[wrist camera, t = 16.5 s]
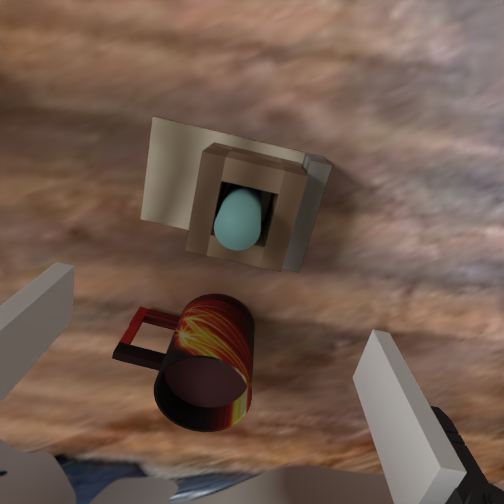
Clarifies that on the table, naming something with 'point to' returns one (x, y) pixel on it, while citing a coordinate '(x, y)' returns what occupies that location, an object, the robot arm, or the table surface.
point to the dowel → (239, 218)
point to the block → (254, 176)
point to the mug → (199, 362)
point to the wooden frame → (185, 178)
